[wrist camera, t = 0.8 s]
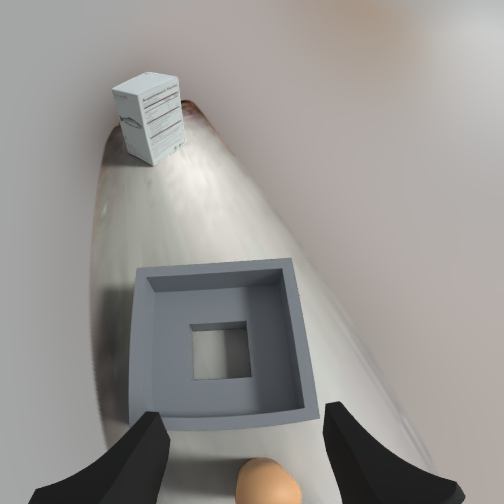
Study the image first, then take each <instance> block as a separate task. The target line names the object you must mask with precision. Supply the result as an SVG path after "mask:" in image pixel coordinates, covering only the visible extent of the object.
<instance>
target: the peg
mask: <svg viewBox="0 0 504 504" xmlns="http://www.w3.org/2000/svg"><path fill="white" fill-rule="evenodd" d="M301 498H302V494H301V489H300V487H299V485H298V484H297V482H296V481H295V480H294V479H293V478H292V477H291V476H290V475H289V474H288V473H287V472H286V471H285V470H284V469H283V468H282V467H281V466H280V465H279V464H278V463H277V462H276V461H274V460H272V459H269V458H262V457H261V458H254V459H251V460H249V461H247V462H246V463H245V464H244V465H243V466H242V467H241V468H240V470H239V473H238V479H237V487H236V495H235V502H236V504H300V503H301Z"/></svg>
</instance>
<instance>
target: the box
mask: <svg viewBox="0 0 504 504" xmlns="http://www.w3.org/2000/svg"><path fill="white" fill-rule="evenodd" d="M240 328H246V330H247V340H248V350H249V360H250V370H251V377H246V378H233V379H216V380H194V369H193V338H192V331H209V330H226V329H240ZM146 411H151V412H159V414H160V416H161V419H162V421H163V424H164V426H165V429H166V430H178V431H205V430H231V429H245V428H256V427H266V426H275V425H282V424H289V423H296V422H302V421H308V420H314V419H319V418H320V415H319V408H318V402H317V395H316V389H315V383H314V376H313V370H312V364H311V358H310V353H309V347H308V341H307V336H306V330H305V324H304V319H303V314H302V308H301V303H300V298H299V293H298V288H297V282H296V277H295V272H294V268H293V263H292V258H281V259H267V260H253V261H238V262H224V263H209V264H194V265H178V266H162V267H146V268H137V271H136V279H135V288H134V297H133V308H132V320H131V334H130V353H129V428H131V427H132V426H133V425H134V424H135V423H136V422H137V421H138V420H139V418H140V417H141V416H142V415H143V414H144V413H145V412H146Z"/></svg>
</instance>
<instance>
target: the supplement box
mask: <svg viewBox="0 0 504 504" xmlns="http://www.w3.org/2000/svg"><path fill="white" fill-rule="evenodd" d="M112 92H113V97H114V101H115V105H116V109H117V113H118V117H119V121H120V125H121V128H122V132H123V136H124V139H125V143H126V146H127V150H128V153H130V154H132V155H134V156H136V157H138V158H140V159H142V160H144V161H145V162H147V163H149V164H150V165H152V166H155V165H157V164H158V163H160V162H161V161H162V160H164V159H165V158H167V157H168V156H170V155H171V154H173V153H174V152H176V151H177V150H179V149H180V148H182V147H183V146H185V145H186V141H185V134H184V126H183V118H182V110H181V101H180V92H179V83H178V77H176V76H170V75H165V74H159V73H153V72H146V73H143V74H141V75H139V76H137V77H134V78H132V79H130V80H128V81H126V82H124V83H122V84H120V85H118V86H116V87H114V88H112Z"/></svg>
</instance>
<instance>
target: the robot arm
mask: <svg viewBox="0 0 504 504" xmlns="http://www.w3.org/2000/svg"><path fill="white" fill-rule="evenodd" d="M323 437H324V442H325V447H326V452H327V455H328V458H329V461H330V464H331V467H332V470H333V473H334V476H335V478H336V481H337V484H338V487H339V490H340V494H341V498H342V503H343V504H461V503H462V502H463V501H464V499H465V495H464V493H463V491H462V489H461V487H460V486H459V485H458V484H457V482H455V481H452V480H448V479H445V478H441V477H438V476H435V475H433V474H430V473H428V472H426V471H423V470H421V469H419V468H417V467H415V466H413V465H412V464H410V463H408V462H406V461H404V460H403V459H401V458H400V457H398V456H397V455H395V454H394V453H392V452H391V451H389V450H388V449H387V448H385V447H384V446H383V445H382V444H381V443H379V442H378V441H377V440H376V439H375V438H374V437H373V436H371V435H370V434H369V433H368V432H367V431H366V430H365V429H364V428H363V427H362V426H361V425H360V424H359V423H358V422H357V420H356V419H355V418H354V417H353V416H352V415H351V414H350V412H349V411H348V410H347V409H346V408H345V406H344V405H343V404H342V403H341V402H340V401H338V402H333V403H327V404H326V406H325V416H324V425H323ZM169 448H170V438H169V436H168V433H167V431H166V429H165V426H164V424H163V421H162V419H161V416H160V414H159V412H151V411H146V412H145V413H144V414H143V415H142V416H141V417H140V418H139V420H138V421H137V422H136V423H135V424H134V425H133V426H132V427H131V428H130V429H129V431H128V432H127V433H126V434H125V435H124V436H123V437H122V438H121V439H120V440H119V441H118V442H117V443H116V444H115V445H114V446H113V447H112V448H111V449H109V450H108V451H107V452H106V453H105V454H104V455H103V456H101V457H100V458H99V459H98V460H96V461H95V462H94V463H92V464H91V465H89V466H88V467H86V468H85V469H83V470H81V471H79V472H78V473H76V474H74V475H72V476H70V477H68V478H66V479H64V480H62V481H59V482H57V483H54V484H51V485H48V486H45V487H42V488H38V489H36V490H35V492H34V494H33V495H32V497H31V499H30V501H29V503H28V504H156V501H157V497H158V493H159V489H160V485H161V482H162V478H163V475H164V471H165V468H166V464H167V460H168V455H169Z"/></svg>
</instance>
